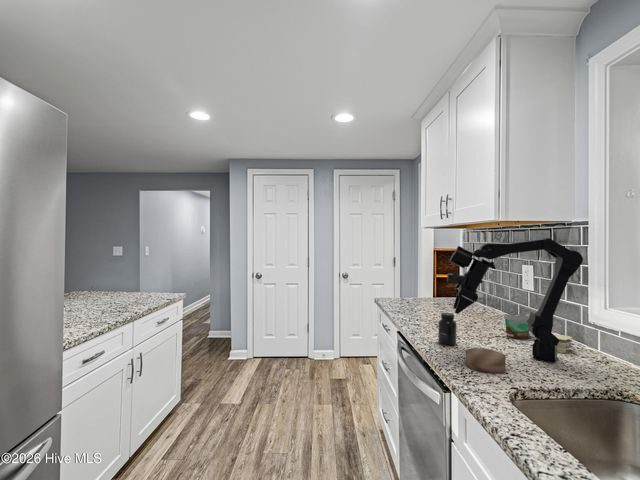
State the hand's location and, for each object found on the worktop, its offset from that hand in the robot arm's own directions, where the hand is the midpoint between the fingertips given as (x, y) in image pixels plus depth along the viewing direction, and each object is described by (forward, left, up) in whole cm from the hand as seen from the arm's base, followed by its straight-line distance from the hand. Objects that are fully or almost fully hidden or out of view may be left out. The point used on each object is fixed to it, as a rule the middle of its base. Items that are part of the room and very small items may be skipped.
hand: (455, 310), depth 128 cm
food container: (-12, -36, -15) cm, 41 cm away
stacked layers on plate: (-28, -29, -16) cm, 43 cm away
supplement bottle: (+6, -6, -15) cm, 18 cm away
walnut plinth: (-14, +8, -15) cm, 22 cm away
